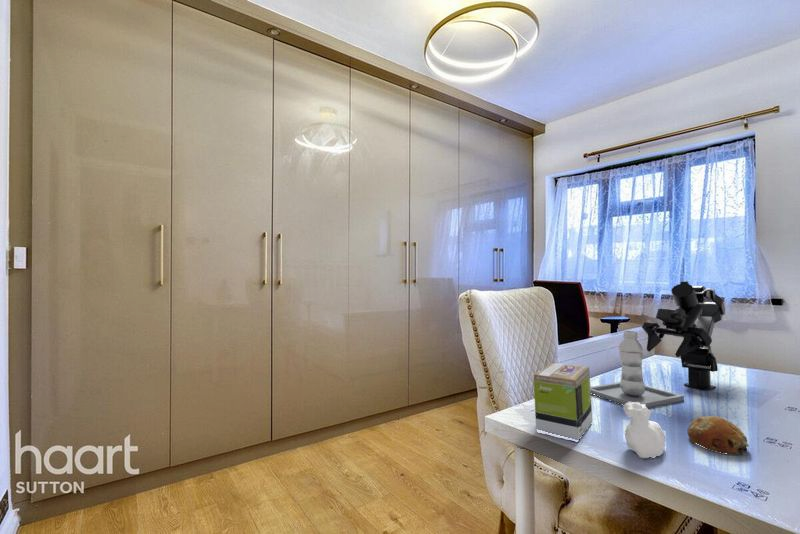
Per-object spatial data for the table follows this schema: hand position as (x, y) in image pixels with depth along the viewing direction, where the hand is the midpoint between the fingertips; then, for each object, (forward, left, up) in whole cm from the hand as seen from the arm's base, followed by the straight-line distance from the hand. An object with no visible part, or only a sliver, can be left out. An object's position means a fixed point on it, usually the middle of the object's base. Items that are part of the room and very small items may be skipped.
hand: (661, 353), depth 115 cm
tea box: (+47, +6, -14) cm, 49 cm away
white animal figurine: (+41, +22, -14) cm, 48 cm away
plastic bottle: (+8, -4, -13) cm, 16 cm away
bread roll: (+23, +27, -14) cm, 38 cm away
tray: (+9, -4, -14) cm, 17 cm away
